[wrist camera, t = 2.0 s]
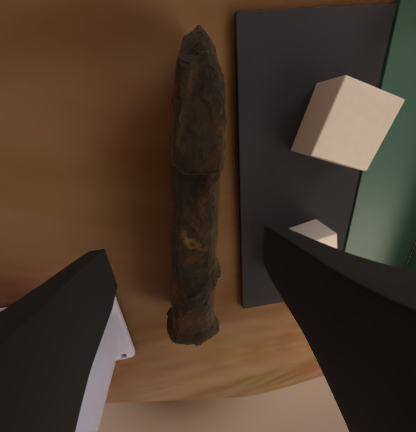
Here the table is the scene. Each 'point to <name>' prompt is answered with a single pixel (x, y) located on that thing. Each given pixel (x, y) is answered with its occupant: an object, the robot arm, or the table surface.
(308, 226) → the beige square block
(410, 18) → the dustpan
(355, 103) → the beige rectangular prism
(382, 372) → the robot arm
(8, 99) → the table surface
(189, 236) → the dark brown rough bar
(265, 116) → the desk mat
